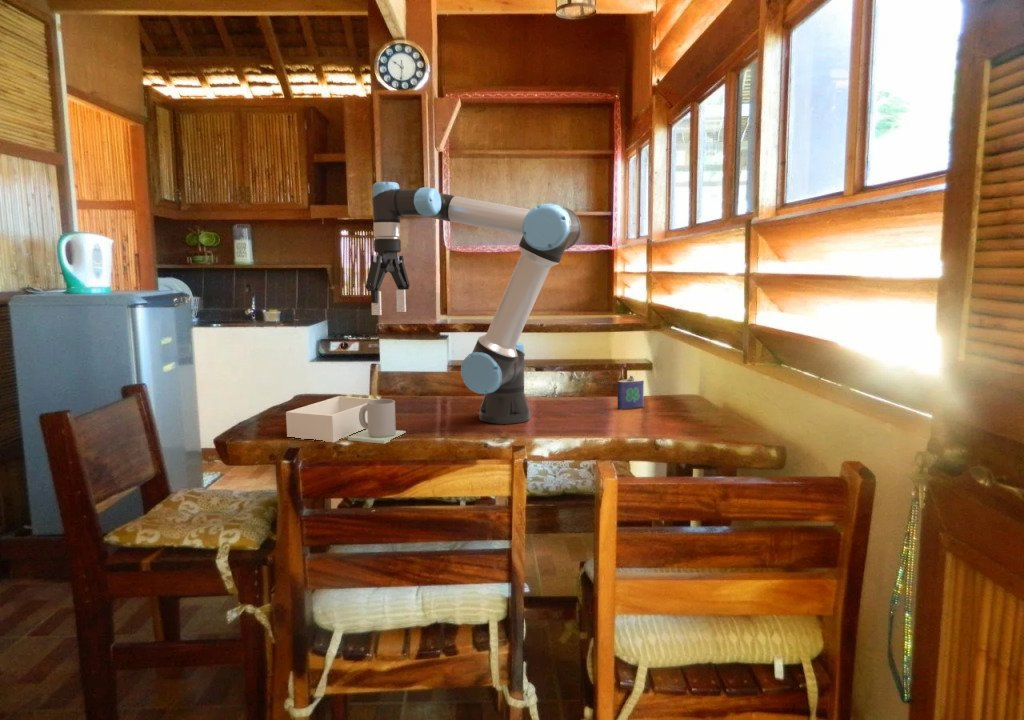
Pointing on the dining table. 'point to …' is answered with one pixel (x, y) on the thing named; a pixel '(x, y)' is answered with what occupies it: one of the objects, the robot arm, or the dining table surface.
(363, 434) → the tile
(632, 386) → the flask
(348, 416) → the crate
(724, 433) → the dining table surface
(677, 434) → the dining table surface
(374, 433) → the cup
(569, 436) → the dining table surface
